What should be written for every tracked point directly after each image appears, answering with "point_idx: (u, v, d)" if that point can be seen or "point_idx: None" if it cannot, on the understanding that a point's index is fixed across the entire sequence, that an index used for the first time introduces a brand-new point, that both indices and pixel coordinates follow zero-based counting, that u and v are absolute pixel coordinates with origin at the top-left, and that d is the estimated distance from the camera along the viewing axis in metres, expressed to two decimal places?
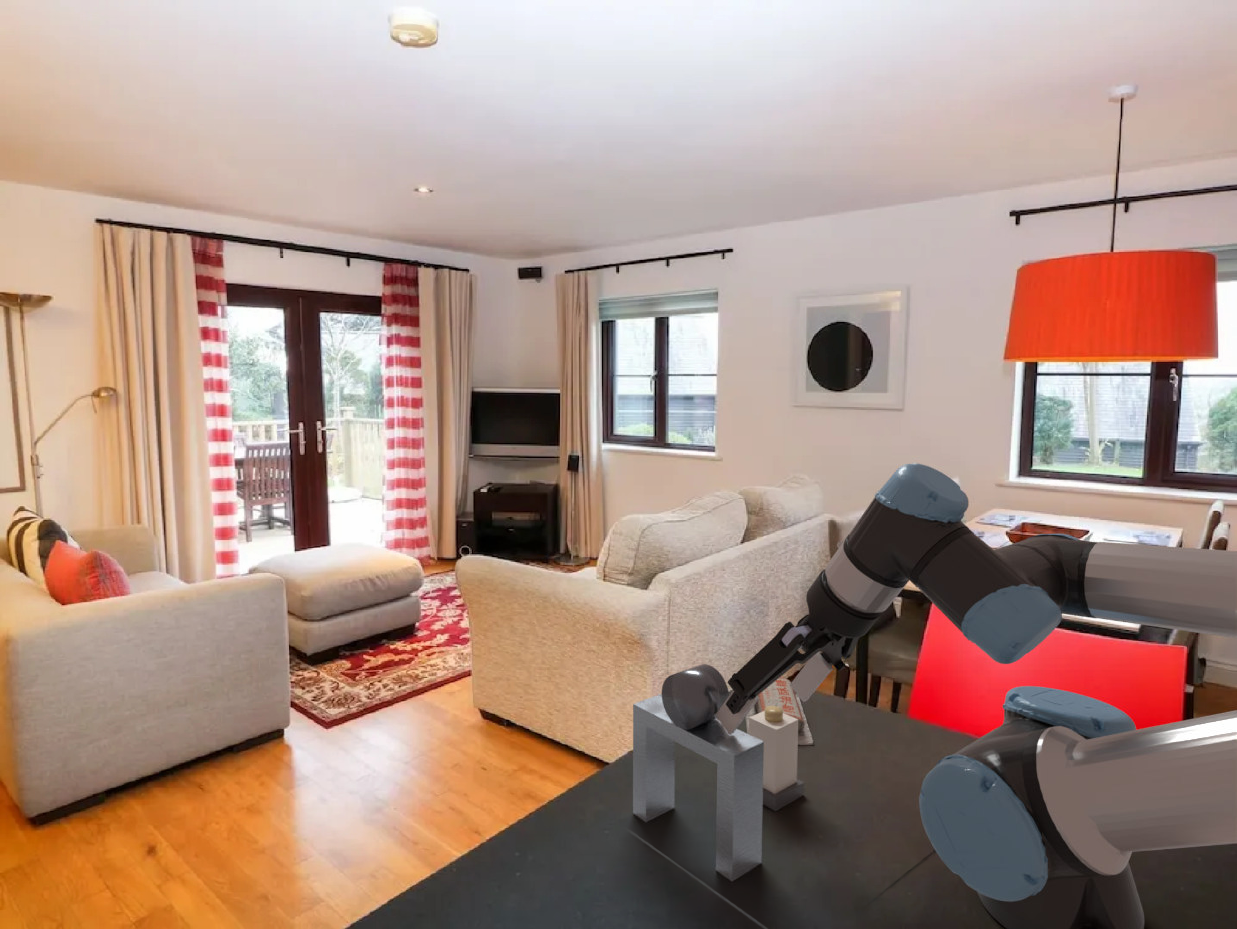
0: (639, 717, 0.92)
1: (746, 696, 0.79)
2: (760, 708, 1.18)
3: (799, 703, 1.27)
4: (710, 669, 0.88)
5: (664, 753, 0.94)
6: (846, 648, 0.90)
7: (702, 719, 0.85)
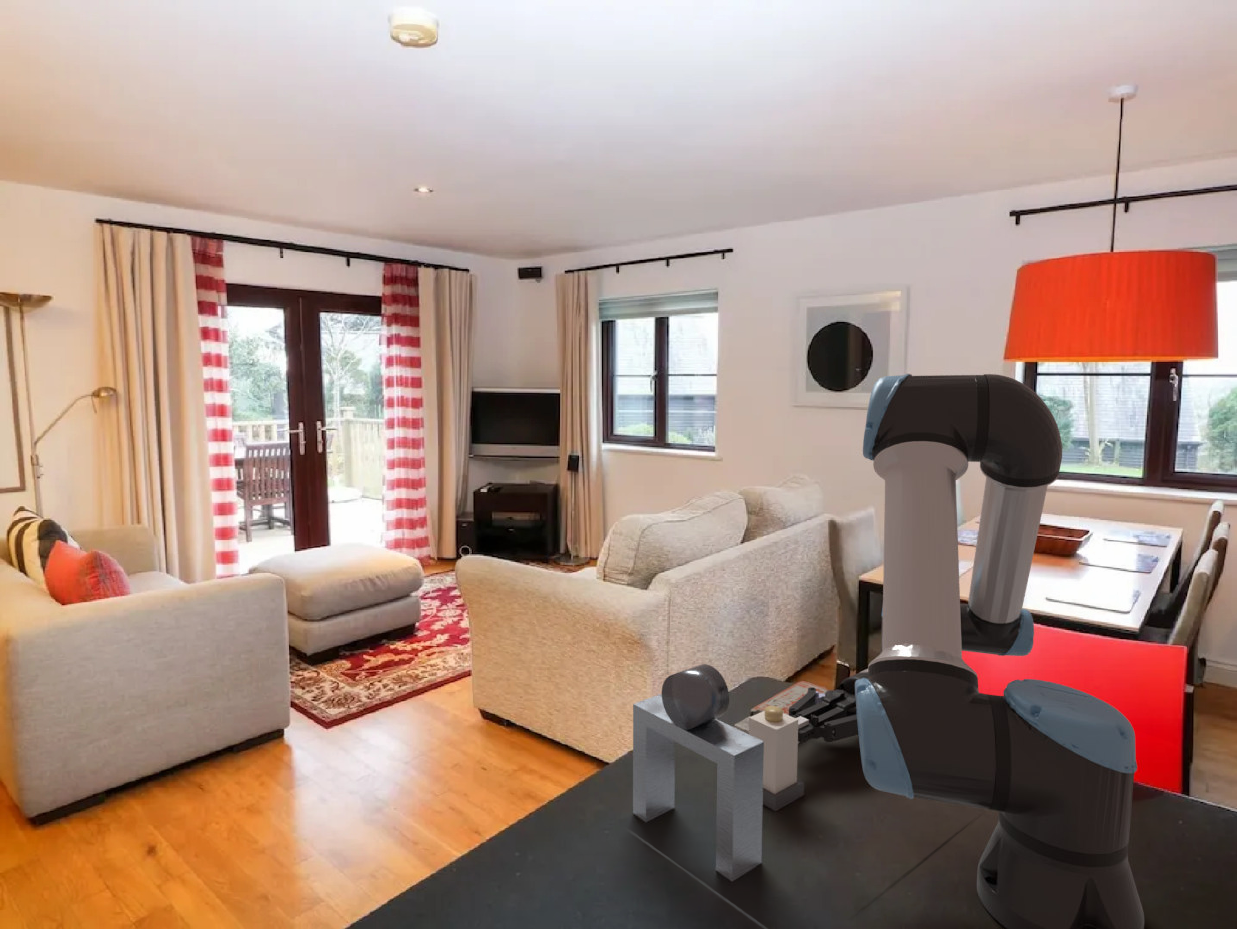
0: (639, 717, 0.92)
1: (792, 707, 1.09)
2: (760, 704, 1.19)
3: None
4: (710, 669, 0.88)
5: (664, 753, 0.94)
6: None
7: (702, 719, 0.85)
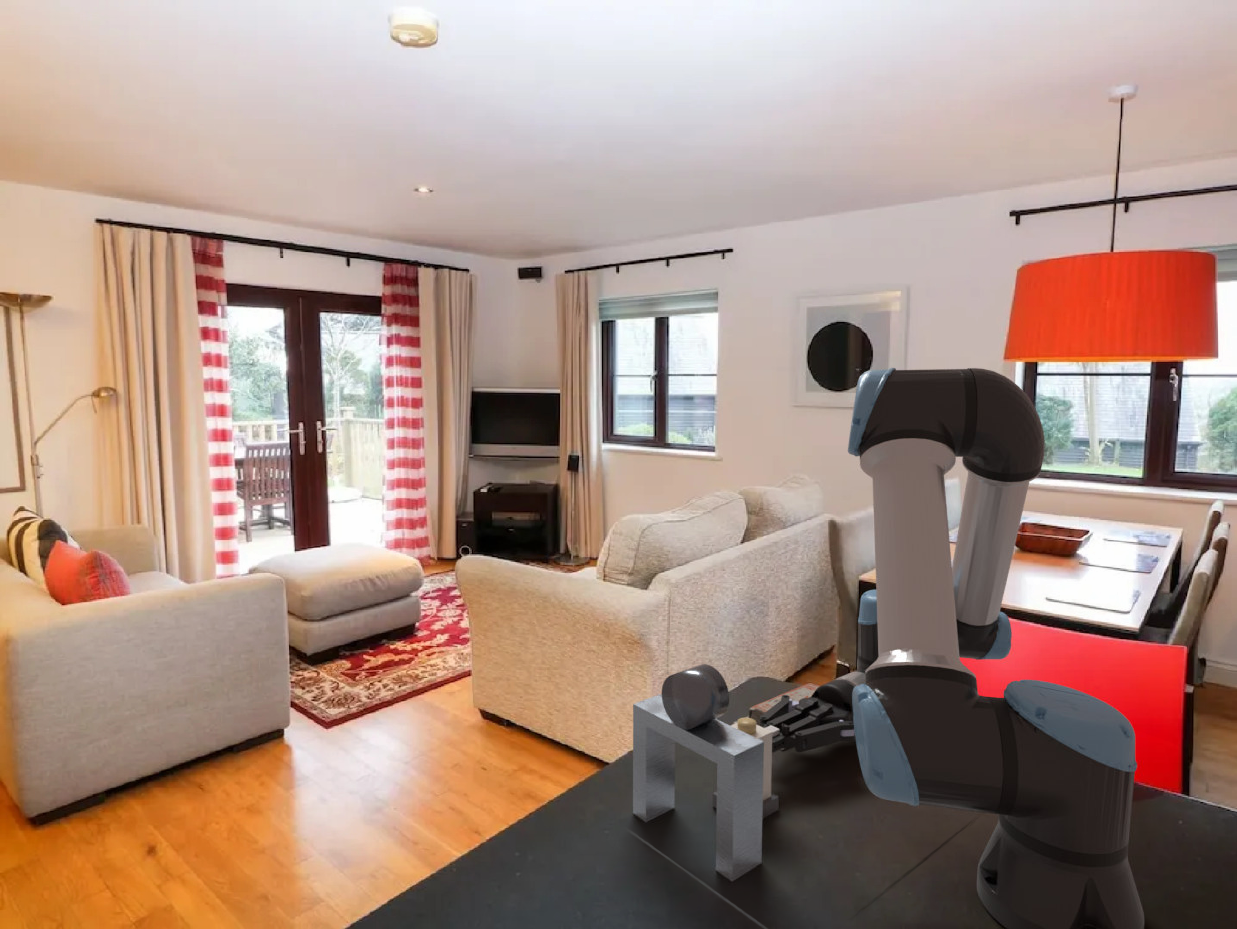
0: (639, 717, 0.92)
1: (763, 716, 1.06)
2: None
3: None
4: (710, 669, 0.88)
5: (664, 753, 0.94)
6: None
7: (702, 719, 0.85)
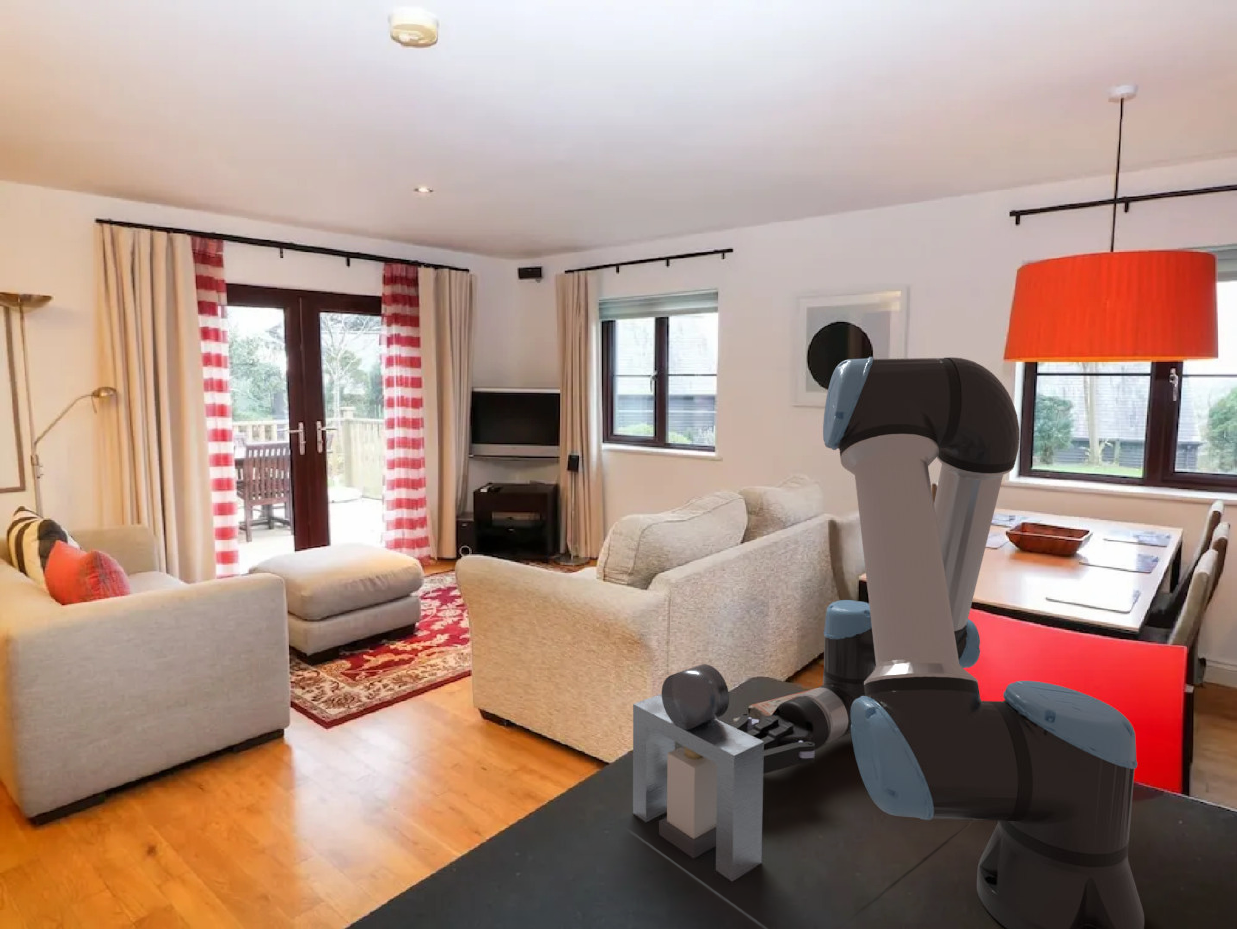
0: (639, 717, 0.92)
1: None
2: None
3: None
4: (710, 669, 0.88)
5: (664, 753, 0.94)
6: None
7: (702, 719, 0.85)
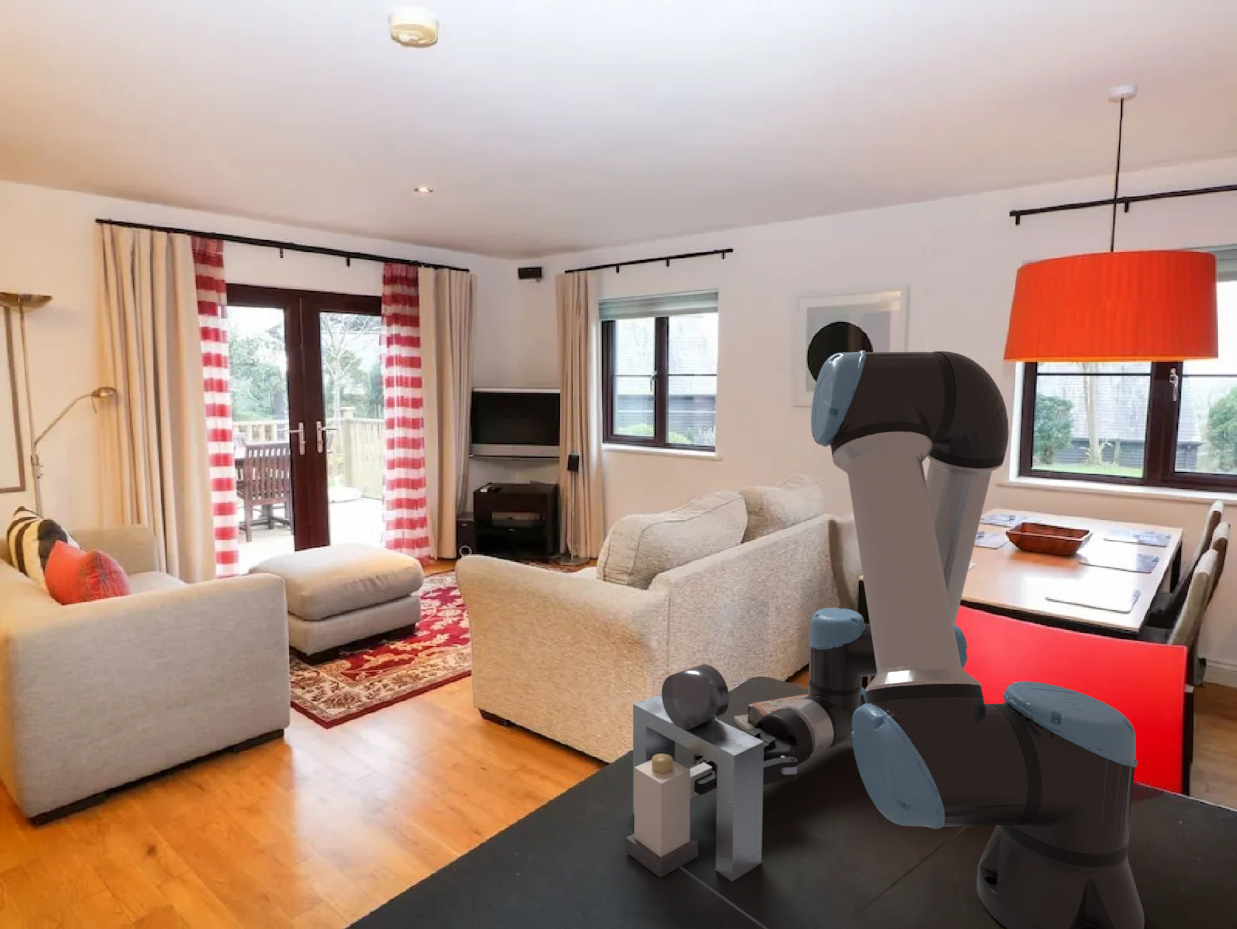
0: (639, 717, 0.92)
1: None
2: None
3: None
4: (710, 669, 0.88)
5: (664, 753, 0.94)
6: None
7: (702, 719, 0.85)
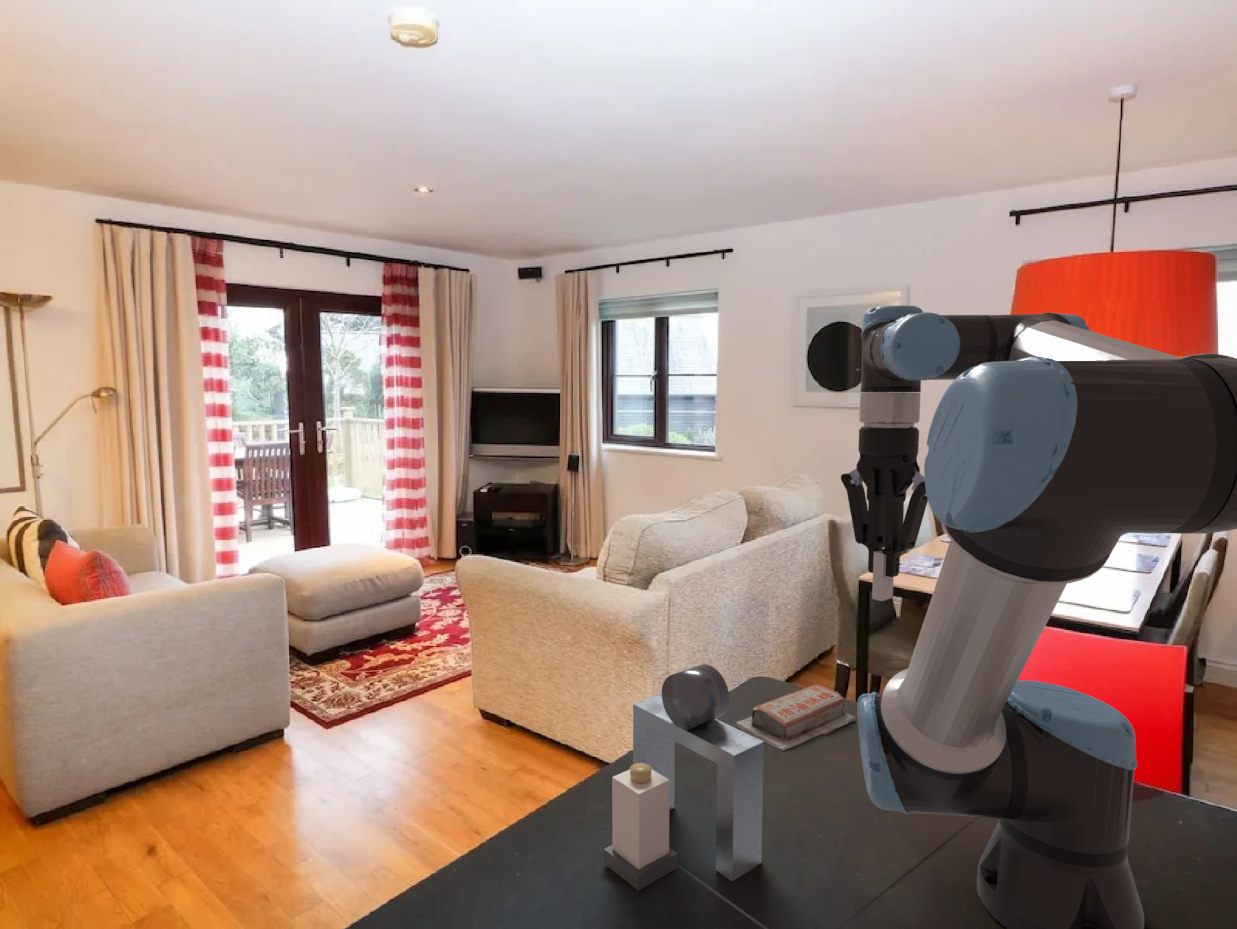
0: (639, 717, 0.92)
1: (857, 538, 1.01)
2: None
3: (839, 722, 1.19)
4: (710, 669, 0.88)
5: (664, 753, 0.94)
6: None
7: (702, 719, 0.85)
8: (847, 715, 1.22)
